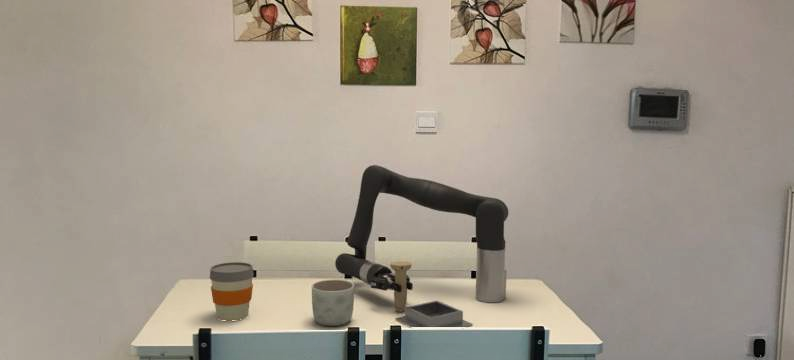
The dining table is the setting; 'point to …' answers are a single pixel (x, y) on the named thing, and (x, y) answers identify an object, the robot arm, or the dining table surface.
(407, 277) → the robot arm
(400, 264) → the handle
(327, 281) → the planter
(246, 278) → the reusable coffee cup
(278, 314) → the dining table surface
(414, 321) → the grey square tray
